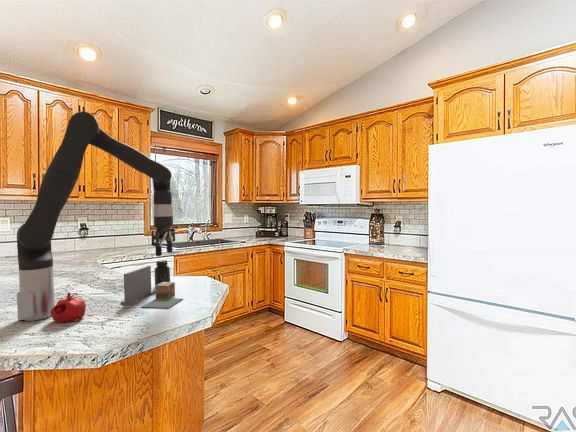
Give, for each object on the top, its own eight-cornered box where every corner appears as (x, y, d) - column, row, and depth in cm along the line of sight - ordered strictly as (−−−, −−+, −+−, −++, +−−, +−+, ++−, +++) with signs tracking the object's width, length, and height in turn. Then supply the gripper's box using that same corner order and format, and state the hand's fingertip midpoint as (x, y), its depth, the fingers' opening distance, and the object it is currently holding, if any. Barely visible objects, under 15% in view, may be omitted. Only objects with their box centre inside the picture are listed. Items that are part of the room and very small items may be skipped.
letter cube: (168, 298, 127) (167, 285, 126) (155, 298, 127) (155, 284, 127) (175, 294, 132) (174, 281, 132) (163, 294, 133) (162, 281, 133)
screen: (132, 305, 119) (131, 274, 118) (120, 304, 119) (119, 273, 119) (155, 293, 135) (154, 265, 134) (144, 292, 135) (144, 265, 135)
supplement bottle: (173, 284, 149) (172, 259, 148) (166, 288, 142) (165, 262, 142) (159, 284, 150) (158, 259, 149) (151, 288, 143) (151, 262, 142)
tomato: (80, 312, 111) (80, 287, 111) (91, 318, 105) (90, 291, 105) (46, 320, 104) (46, 292, 104) (55, 327, 97) (55, 297, 97)
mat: (168, 308, 114) (168, 307, 114) (141, 307, 116) (141, 306, 115) (182, 299, 125) (182, 298, 125) (157, 298, 126) (157, 297, 126)
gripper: (162, 216, 121) (163, 257, 121) (179, 214, 135) (181, 251, 136) (144, 216, 122) (146, 257, 122) (163, 214, 136) (165, 251, 137)
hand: (164, 254), depth 129 cm, fingers open, 8 cm apart
